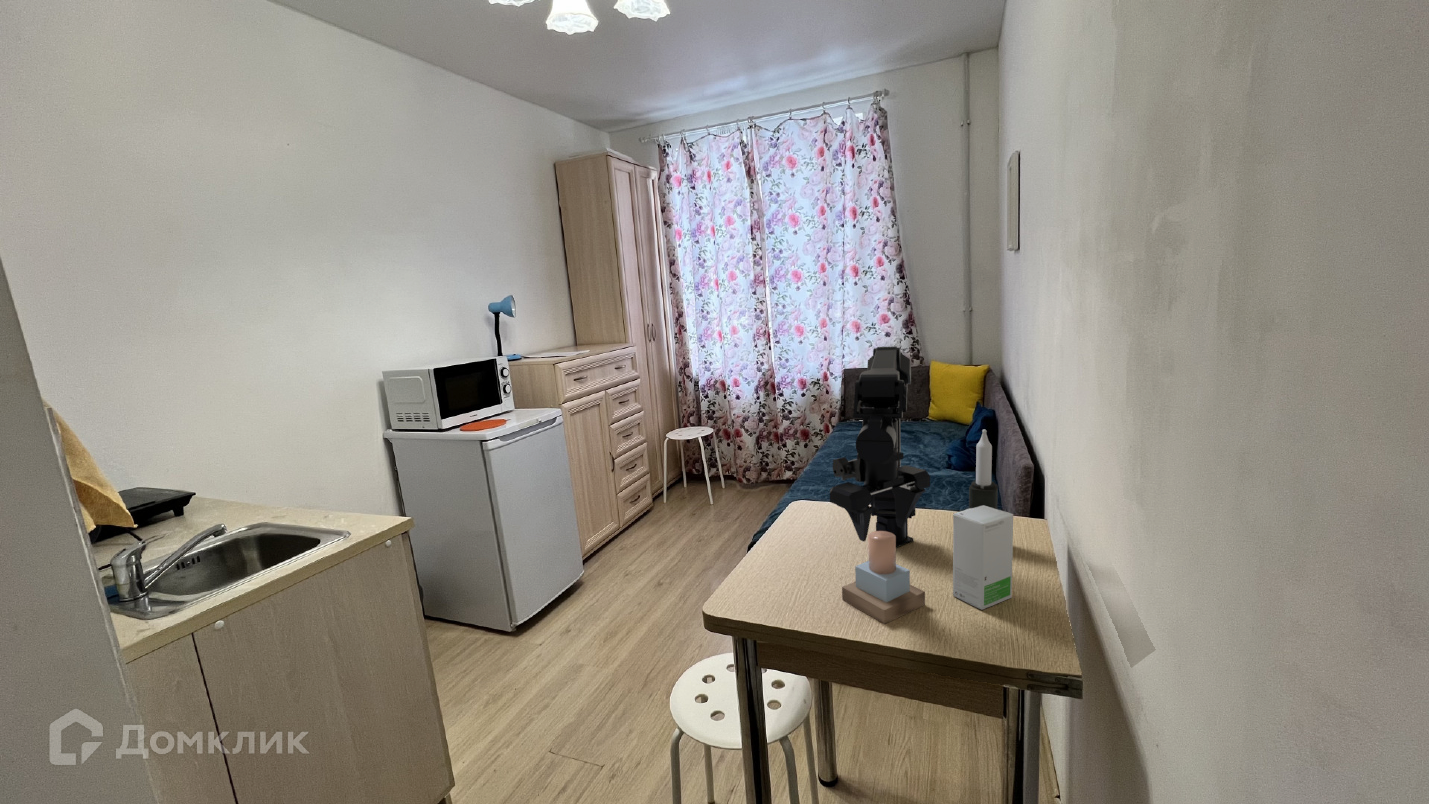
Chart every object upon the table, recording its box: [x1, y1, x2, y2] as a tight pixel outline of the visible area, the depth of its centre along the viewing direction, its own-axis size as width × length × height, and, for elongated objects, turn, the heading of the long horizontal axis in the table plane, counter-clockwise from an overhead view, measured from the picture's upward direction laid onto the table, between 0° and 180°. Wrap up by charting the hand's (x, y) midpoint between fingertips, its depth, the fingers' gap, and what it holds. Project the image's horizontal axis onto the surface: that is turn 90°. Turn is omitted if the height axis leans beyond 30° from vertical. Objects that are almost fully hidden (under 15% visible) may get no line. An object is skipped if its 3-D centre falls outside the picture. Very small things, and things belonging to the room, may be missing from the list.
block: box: [854, 560, 911, 603], centre depth 103 cm, size 6×7×4 cm
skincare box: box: [952, 505, 1015, 610], centre depth 103 cm, size 8×7×16 cm
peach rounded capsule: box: [867, 530, 897, 574], centre depth 103 cm, size 5×5×6 cm
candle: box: [968, 429, 999, 509], centre depth 122 cm, size 5×5×25 cm
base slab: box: [841, 580, 926, 625], centre depth 104 cm, size 10×10×2 cm
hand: (881, 533), depth 102 cm, fingers open, 9 cm apart
